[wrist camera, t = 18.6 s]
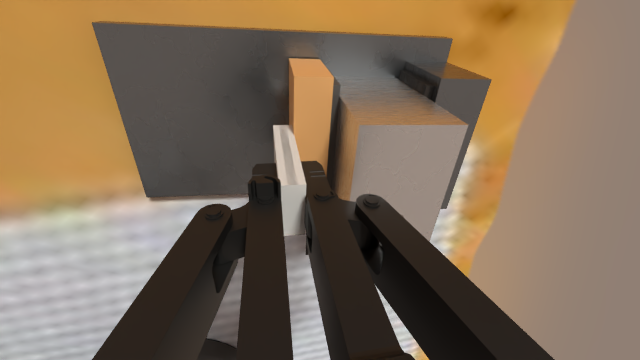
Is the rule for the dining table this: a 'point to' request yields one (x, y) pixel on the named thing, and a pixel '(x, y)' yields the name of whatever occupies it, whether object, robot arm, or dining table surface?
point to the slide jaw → (314, 111)
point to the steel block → (395, 147)
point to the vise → (250, 93)
